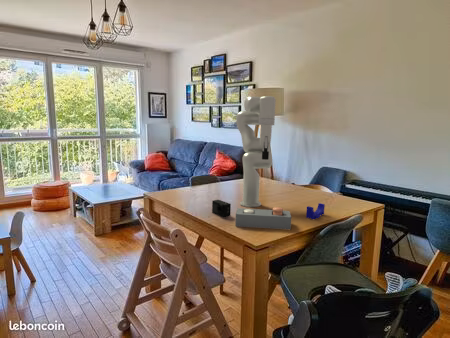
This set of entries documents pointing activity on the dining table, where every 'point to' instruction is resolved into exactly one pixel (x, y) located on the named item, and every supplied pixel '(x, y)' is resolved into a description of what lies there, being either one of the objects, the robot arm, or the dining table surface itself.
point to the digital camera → (221, 208)
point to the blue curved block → (317, 213)
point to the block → (263, 219)
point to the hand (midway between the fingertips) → (265, 159)
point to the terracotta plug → (277, 211)
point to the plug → (249, 211)
